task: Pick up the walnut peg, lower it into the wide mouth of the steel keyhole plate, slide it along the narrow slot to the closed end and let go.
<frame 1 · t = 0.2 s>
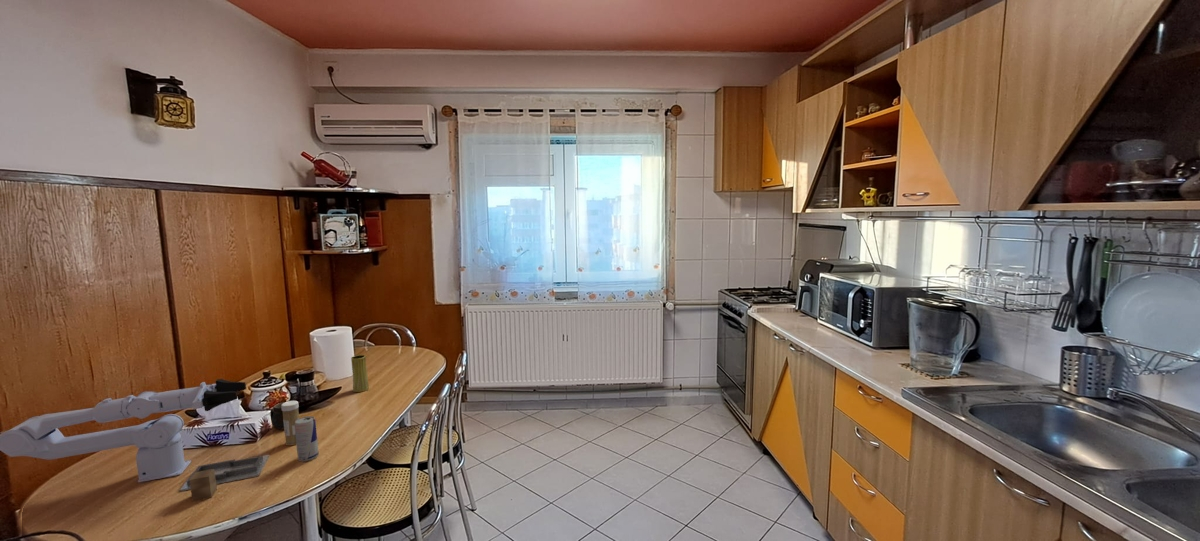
hand: (241, 390, 141), 21 cm above the table, tool horizontal, fingers open, 7 cm apart
keyhole plate: (232, 471, 136), on the table
energy drink: (308, 458, 143), on the table
mate gourd: (285, 427, 164), on the table
walnut peg: (204, 495, 124), on the table
vase: (361, 390, 198), on the table
sprinkles bottle: (293, 443, 153), on the table
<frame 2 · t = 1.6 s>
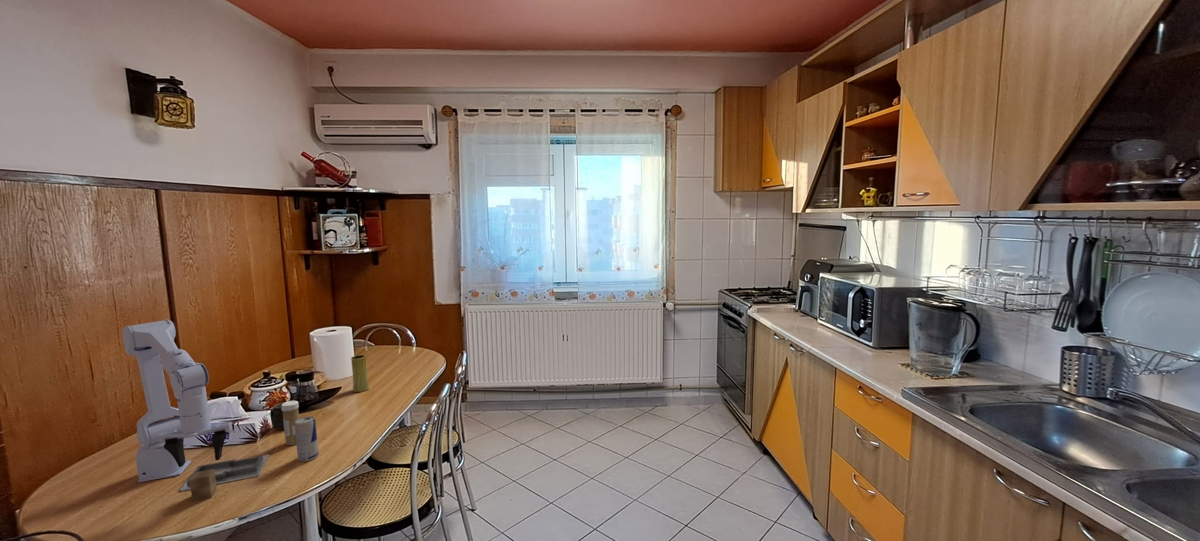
hand: (200, 461, 123), 9 cm above the table, tool pointing down, fingers open, 7 cm apart
nothing on the table moved.
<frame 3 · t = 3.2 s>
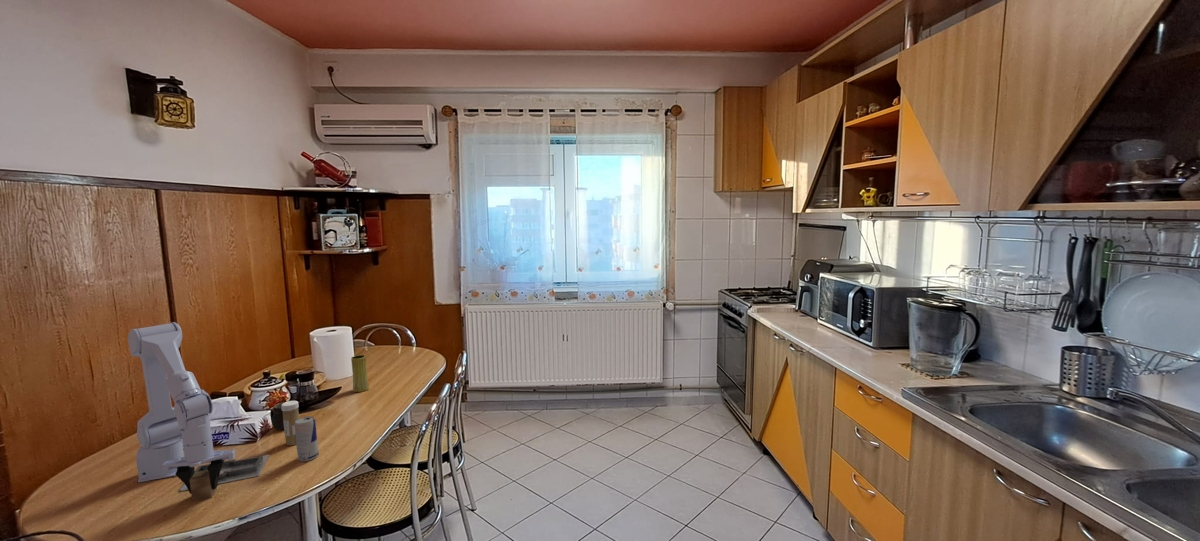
hand: (204, 489, 124), 2 cm above the table, tool pointing down, fingers closed on walnut peg, 4 cm apart
walnut peg: (204, 495, 124), on the table, touching gripper
everything else where it was.
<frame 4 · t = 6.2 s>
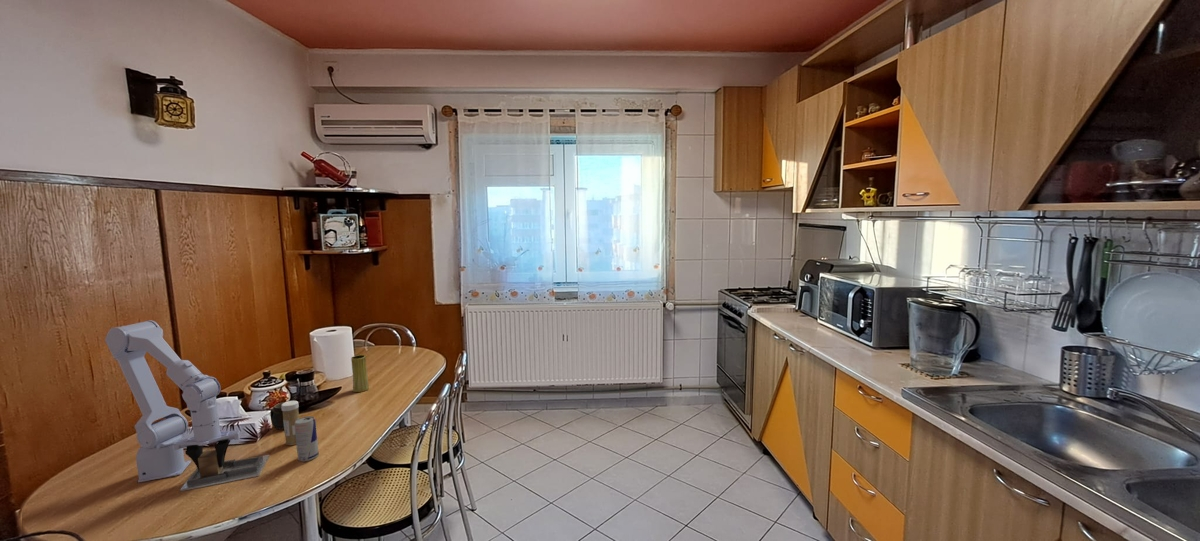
hand: (211, 467, 134), 2 cm above the table, tool pointing down, fingers closed on walnut peg, 4 cm apart
walnut peg: (212, 473, 134), point 1 cm above the table, touching gripper
everything else where it was.
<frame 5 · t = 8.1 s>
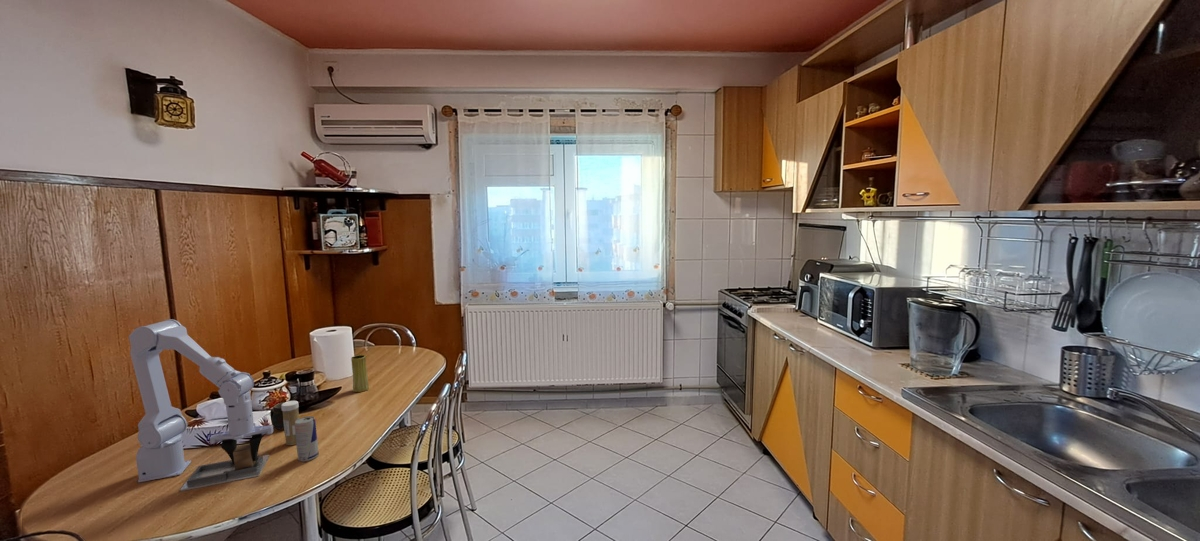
hand: (245, 461, 137), 2 cm above the table, tool pointing down, fingers closed on walnut peg, 4 cm apart
walnut peg: (246, 467, 137), point 1 cm above the table, touching gripper
everything else where it was.
when the fingers open (2 cm above the table, at t = 9.2 s): walnut peg stays where it is, resting on keyhole plate.
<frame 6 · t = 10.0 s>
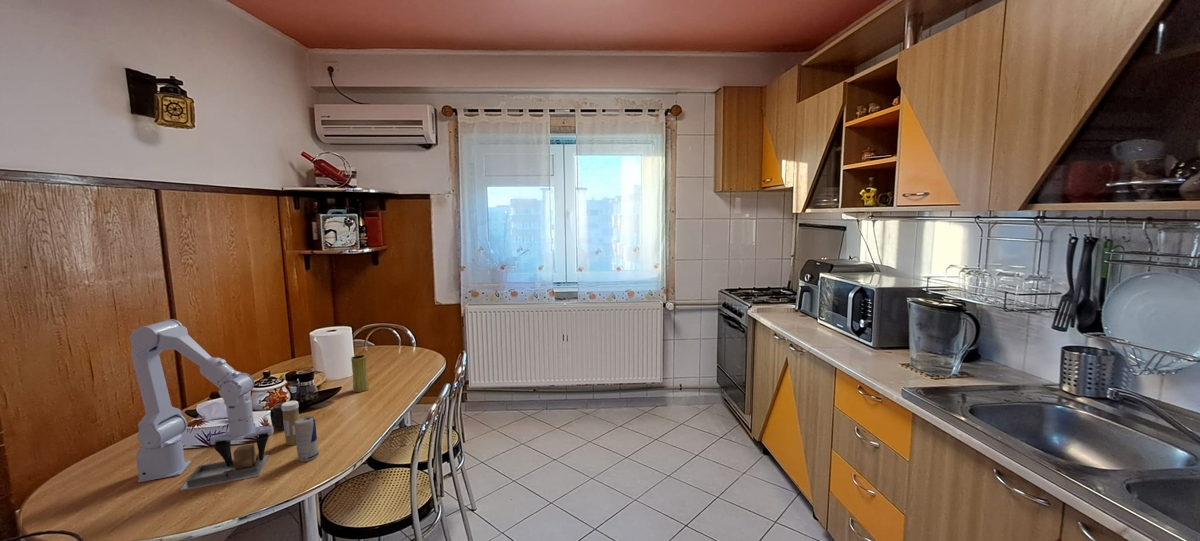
hand: (245, 461, 137), 2 cm above the table, tool pointing down, fingers open, 7 cm apart
walnut peg: (246, 467, 137), resting on keyhole plate
everything else where it was.
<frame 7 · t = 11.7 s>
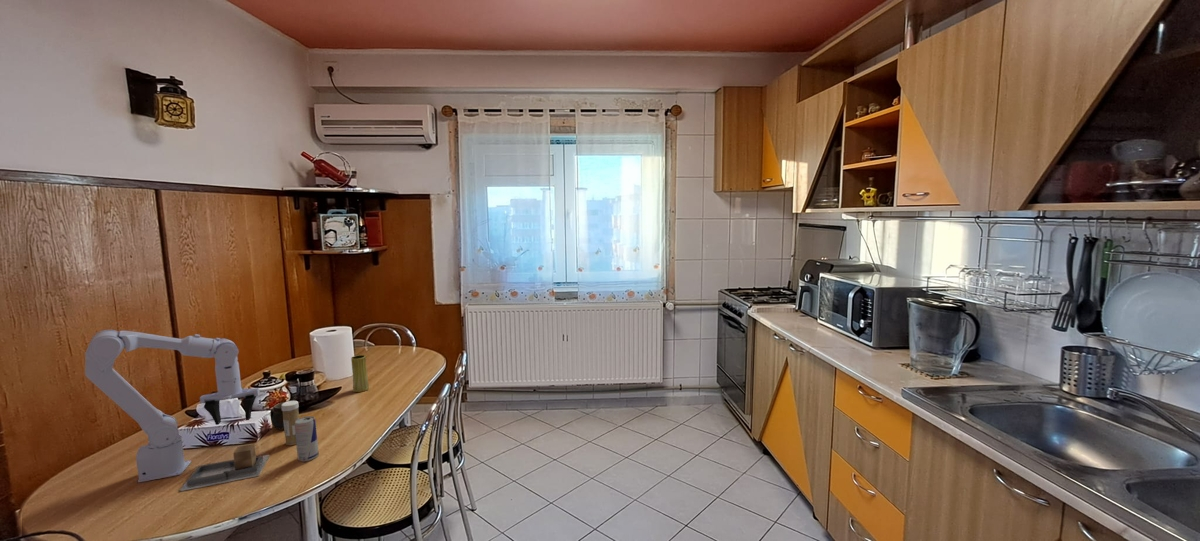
hand: (233, 421, 146), 10 cm above the table, tool pointing down, fingers open, 7 cm apart
nothing on the table moved.
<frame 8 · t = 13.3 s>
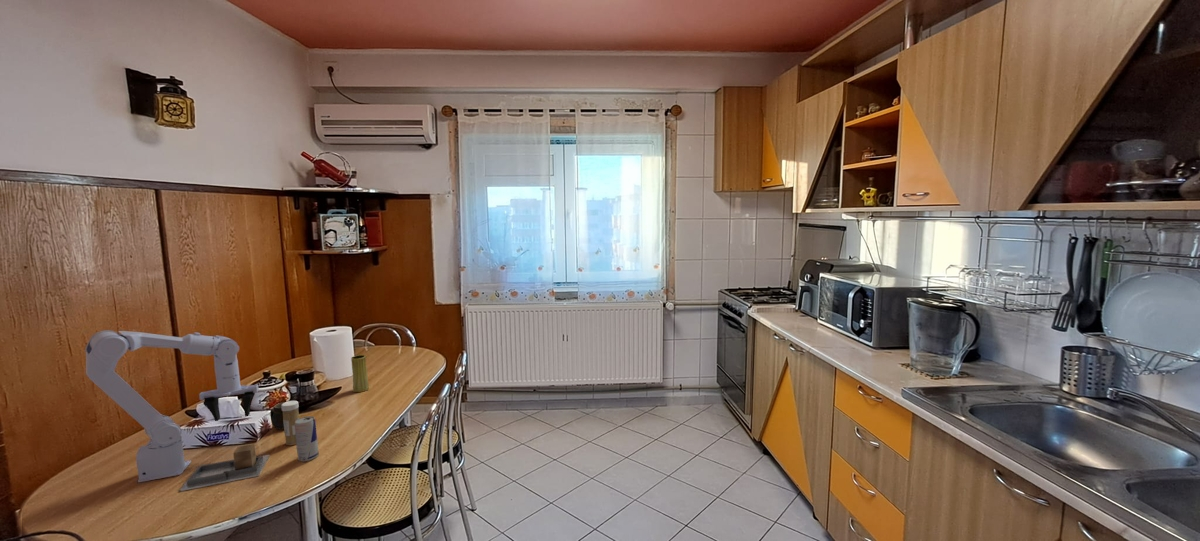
hand: (232, 417, 148), 10 cm above the table, tool pointing down, fingers open, 7 cm apart
nothing on the table moved.
at the end: walnut peg 0.4 cm from the target spot on the keyhole plate, point 0.5 cm above the keyhole plate's base; walnut peg tilted 0°; the gripper is holding nothing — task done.
